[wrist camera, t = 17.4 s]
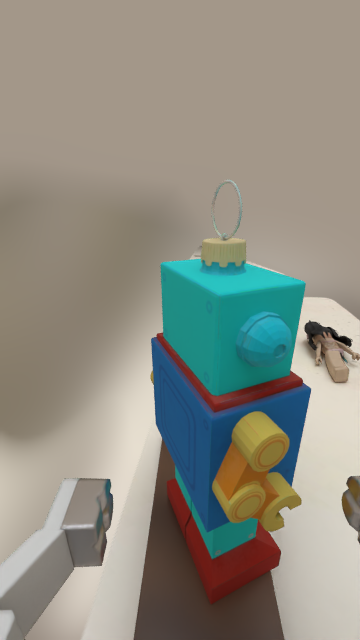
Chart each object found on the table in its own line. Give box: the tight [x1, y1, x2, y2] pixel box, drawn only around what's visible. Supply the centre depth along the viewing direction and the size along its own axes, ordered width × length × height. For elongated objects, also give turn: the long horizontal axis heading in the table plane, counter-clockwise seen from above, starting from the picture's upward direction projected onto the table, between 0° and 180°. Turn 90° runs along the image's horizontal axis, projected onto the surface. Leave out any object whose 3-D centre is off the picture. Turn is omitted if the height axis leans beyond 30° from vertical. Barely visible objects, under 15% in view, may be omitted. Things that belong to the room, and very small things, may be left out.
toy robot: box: [151, 180, 311, 604], centre depth 18 cm, size 12×6×25 cm, turn 23°
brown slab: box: [134, 438, 284, 640], centre depth 23 cm, size 24×9×2 cm, turn 177°
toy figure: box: [304, 320, 360, 382], centre depth 50 cm, size 7×6×15 cm
